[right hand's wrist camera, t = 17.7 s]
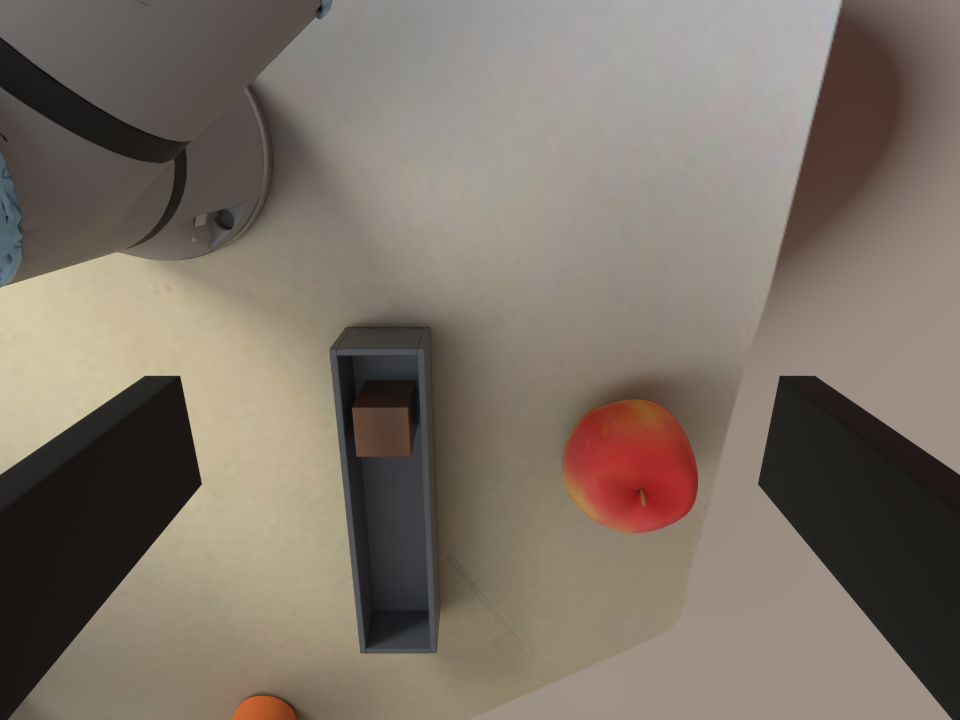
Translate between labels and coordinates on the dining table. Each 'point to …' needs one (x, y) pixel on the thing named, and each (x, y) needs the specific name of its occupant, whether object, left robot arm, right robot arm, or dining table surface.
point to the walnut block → (385, 419)
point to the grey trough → (390, 496)
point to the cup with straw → (264, 709)
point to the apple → (630, 466)
